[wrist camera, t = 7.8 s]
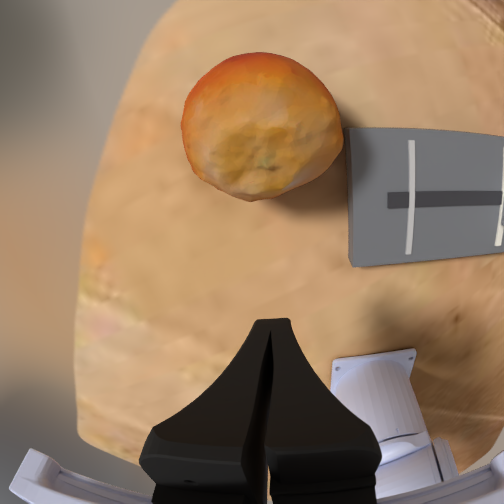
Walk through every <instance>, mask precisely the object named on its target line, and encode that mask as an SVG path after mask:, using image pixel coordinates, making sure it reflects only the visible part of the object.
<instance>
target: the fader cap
mask: <svg viewBox="0 0 504 504" xmlns="http://www.w3.org/2000/svg"><path fill="white" fill-rule="evenodd" d="M501 225H502V226H504V203H503V212H502V220H501Z"/></svg>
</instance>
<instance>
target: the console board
mask: <svg viewBox="0 0 504 504" xmlns="http://www.w3.org/2000/svg"><path fill="white" fill-rule="evenodd" d="M344 134H345V148H346V163H347V184H348V222H349V255H348V258H349V260H350V262H351V265H352V267H364V266H375V265H386V264H397V263H407V262H417V261H428V260H437V259H447V258H456V257H465V256H474V255H483V254H492V253H500V252H504V226H502V225H501V220H502V212H503V203H504V137H502V136H495V135H488V134H479V133H471V132H461V131H449V130H435V129H417V128H344Z"/></svg>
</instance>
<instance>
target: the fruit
mask: <svg viewBox="0 0 504 504" xmlns="http://www.w3.org/2000/svg"><path fill="white" fill-rule="evenodd" d="M181 130H182V138H183V144H184V148H185V152H186V155H187V158H188V161H189V162H190V164H191V167H192V170H193V172H194V173H195V174H196V175H197V176H198V177H199V178H200V179H202V180H203V181H205V182H207V183H209V184H211V185H213V186H214V187H215V188H217V189H218V190H221V191H223V192H225V193H227V194H229V195H231V196H233V197H236V198H239V199H242V200H245V201H248V202H253V201H257V200H262V199H270V198H275V197H277V196H279V195H281V194H283V193H285V192H287V191H290V190H292V189H294V188H297V187H299V186H301V185H304V184H306V183H308V182H310V181H312V180H314V179H316V178H317V177H319V176H320V175H321V174H322V173H324V172H325V171H326V170H327V169H328V168H329V167H330V165H331V164H332V163H333V161H334V159H335V158H336V157H337V156H338V154H339V153H340V151H341V150H342V147H343V139H344V137H343V134H342V129H341V122H340V114H339V111H338V109H337V106H336V103H335V101H334V99H333V97H332V95H331V94H330V92H329V91H328V89H327V88H326V87H325V85H324V84H323V83H322V82H321V81H320V80H319V79H318V78H317V77H316V76H315V75H314V74H313V73H312V72H311V71H310V70H309V69H307V68H305V67H304V66H302V65H301V64H299V63H298V62H296V61H294V60H292V59H290V58H287V57H284V56H281V55H277V54H272V53H264V52H256V53H247V54H241V55H237V56H233V57H230V58H228V59H226V60H224V61H223V62H221V63H220V64H218V65H217V66H215V67H214V68H212V69H211V70H210V71H209V72H208V73H207V74H205V75H204V76H203V77H202V78H201V79H200V80H199V81H198V82H197V84H196V85H195V86H194V88H193V89H192V90H191V92H190V93H189V95H188V97H187V99H186V101H185V105H184V111H183V116H182V121H181Z"/></svg>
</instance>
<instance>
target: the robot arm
mask: <svg viewBox="0 0 504 504" xmlns="http://www.w3.org/2000/svg"><path fill="white" fill-rule="evenodd" d="M416 354H417V352H416V350H415V349H414V348H411V349H405V350H399V351H393V352H386V353H379V354H371V355H364V356H355V357H346V358H338V359H335V360H334V361H333V362H332V375H331V388H330V390H329V389H328V388H327V387H326V386H325V385H324V383H323V382H322V381H321V380H320V378H319V377H318V376H317V374H316V373H315V372H314V370H313V369H312V367H311V366H310V364H309V362H308V361H307V359H306V357H305V356H304V354H303V352H302V350H301V348H300V346H299V344H298V342H297V340H296V338H295V335H294V333H293V330H292V327H291V321H290V319H288V318H277V319H259V320H256V321H255V322H254V325H253V327H252V329H251V331H250V333H249V335H248V336H247V338H246V340H245V342H244V343H243V345H242V346H241V348H240V350H239V351H238V353H237V354H236V356H235V357H234V358H233V360H232V361H231V362H230V364H229V365H228V366H227V368H226V369H225V370H224V371H223V373H222V374H221V375H220V376H219V377H218V378H217V379H216V380H215V382H214V383H213V384H212V385H211V386H210V387H209V388H207V389H206V390H205V391H204V392H203V393H202V394H201V395H200V396H199V397H198V398H196V399H195V400H194V401H193V402H191V403H190V404H189V405H187V406H186V407H185V408H183V409H182V410H181V411H179V412H178V413H176V414H175V415H173V416H172V417H170V418H168V419H167V420H165V421H163V422H161V423H160V424H158V425H156V426H154V427H153V428H152V430H151V432H150V434H149V435H148V437H147V439H146V441H145V444H144V447H143V450H142V452H141V455H140V458H139V464H140V465H141V467H142V468H143V470H144V471H145V472H146V473H147V474H148V475H149V477H150V478H151V479H152V480H153V481H154V482H155V483H156V486H155V490H154V493H153V496H151V495H147V494H142V493H138V492H134V491H130V490H127V489H122V488H119V487H116V486H113V485H109V484H106V483H103V482H100V481H97V480H94V479H91V478H88V477H85V476H82V475H80V474H77V473H74V472H71V471H69V470H66V469H64V468H62V467H61V466H60V465H59V464H58V463H57V462H56V461H55V460H54V459H52V458H51V457H49V456H47V455H45V454H43V453H41V452H39V451H36V450H34V449H32V448H30V449H29V451H28V453H27V455H26V456H25V458H24V460H23V462H22V464H21V466H20V467H19V470H18V471H17V473H16V475H15V477H14V479H13V481H12V483H11V485H10V487H9V489H10V490H11V491H12V492H13V493H15V494H16V495H17V496H19V497H20V498H21V499H23V500H24V501H25V502H27V503H28V504H267V482H268V466H269V471H270V476H271V477H270V495H271V497H272V501H273V504H504V450H503V451H501V452H500V453H499V454H497V455H496V456H495V457H494V458H493V459H492V461H491V462H490V463H489V464H487V465H485V466H483V467H480V468H478V469H475V470H473V471H471V472H468V473H465V474H463V475H460V476H459V474H458V471H457V467H456V464H455V461H454V458H453V455H452V452H451V449H450V446H449V443H448V441H447V440H445V439H441V438H440V437H437V438H436V439H434V440H433V443H434V445H433V443H432V440H431V438H430V436H429V434H428V431H427V428H426V425H425V422H424V419H423V416H422V413H421V410H420V407H419V405H418V402H417V399H416V396H415V394H414V391H413V388H412V385H411V383H410V380H409V378H410V375H411V371H412V368H413V365H414V361H415V358H416ZM336 367H339V368H336Z"/></svg>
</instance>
